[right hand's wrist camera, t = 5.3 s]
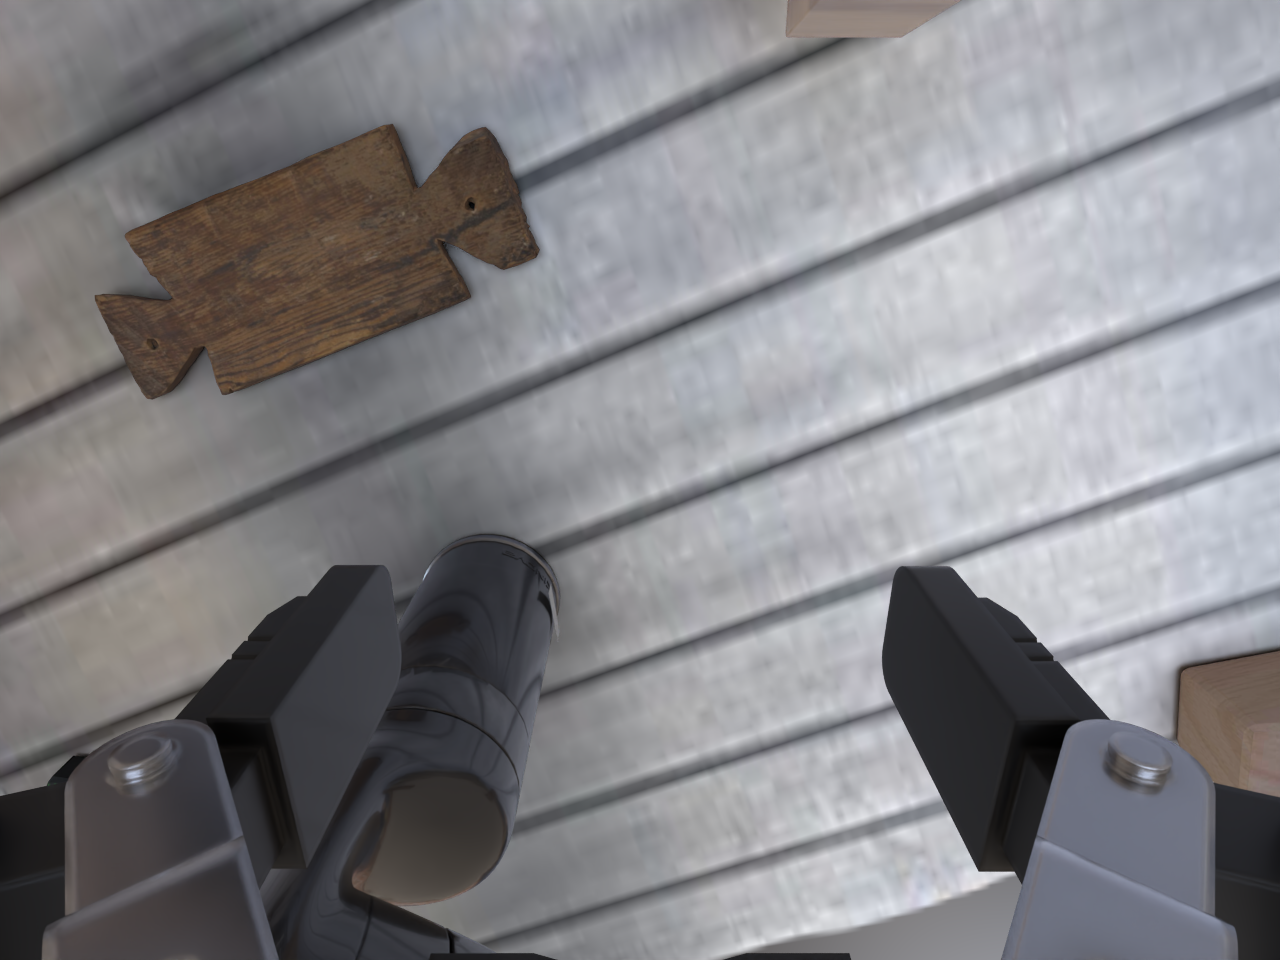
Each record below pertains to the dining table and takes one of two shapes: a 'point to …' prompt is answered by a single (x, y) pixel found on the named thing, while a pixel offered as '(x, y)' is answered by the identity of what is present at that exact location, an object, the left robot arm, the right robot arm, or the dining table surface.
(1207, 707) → the decorative block
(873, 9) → the bar
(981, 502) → the dining table surface
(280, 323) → the dark wooden board
